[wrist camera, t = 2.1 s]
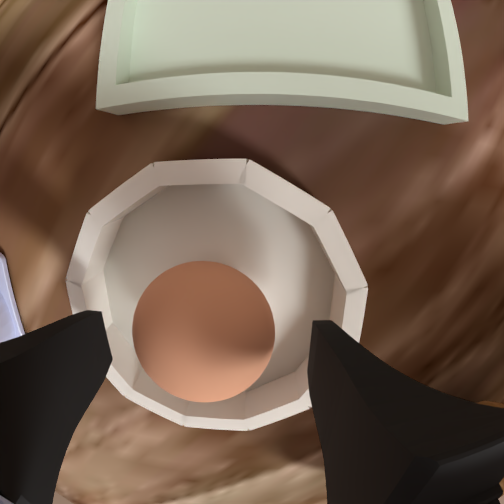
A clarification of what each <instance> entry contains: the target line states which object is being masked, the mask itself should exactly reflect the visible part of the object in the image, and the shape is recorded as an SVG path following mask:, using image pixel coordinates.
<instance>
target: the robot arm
mask: <svg viewBox="0 0 504 504" xmlns="http://www.w3.org/2000/svg"><path fill="white" fill-rule="evenodd" d="M112 360H113V358H112V354H111V350H110V346H109V342H108V338H107V334H106V329H105V325H104V320H103V316H102V311H93V310H86V311H82V312H79V313H76V314H73V315H71V316H68V317H66V318H63V319H61V320H58V321H56V322H54V323H51V324H49V325H47V326H44V327H42V328H39V329H37V330H34V331H32V332H29V333H27V334H25V332H24V329H23V326H22V323H21V320H20V316H19V313H18V309H17V306H16V302H15V298H14V294H13V290H12V286H11V282H10V277H9V273H8V268H7V263H6V259H5V257H4V255H3V254H2V253H0V504H52V503H53V497H54V492H55V487H56V483H57V479H58V475H59V471H60V468H61V465H62V462H63V459H64V456H65V453H66V450H67V448H68V445H69V443H70V440H71V438H72V435H73V433H74V431H75V429H76V427H77V425H78V423H79V422H80V420H81V418H82V416H83V415H84V413H85V411H86V410H87V408H88V406H89V405H90V403H91V402H92V400H93V398H94V397H95V395H96V393H97V392H98V390H99V388H100V387H101V385H102V383H103V381H104V379H105V377H106V375H107V373H108V370H109V368H110V365H111V363H112ZM307 375H308V386H309V395H310V400H311V404H312V409H313V413H314V417H315V421H316V426H317V430H318V434H319V438H320V443H321V447H322V452H323V458H324V466H325V477H326V489H327V504H500V502H499V500H498V498H499V497H501V496H502V495H503V490H502V488H501V486H500V484H499V483H500V481H501V480H502V479H503V478H504V408H500V407H494V406H488V405H483V404H478V403H474V402H470V401H467V400H463V399H460V398H457V397H454V396H451V395H448V394H445V393H442V392H440V391H438V390H435V389H433V388H430V387H428V386H426V385H423V384H421V383H419V382H417V381H415V380H413V379H411V378H410V377H408V376H406V375H404V374H402V373H401V372H399V371H397V370H395V369H394V368H392V367H391V366H389V365H388V364H386V363H385V362H383V361H382V360H380V359H379V358H378V357H376V356H375V355H373V354H372V353H371V352H369V351H368V350H367V349H366V348H364V347H363V346H362V345H361V344H359V343H358V342H357V341H356V340H354V339H353V338H352V337H351V336H350V335H349V334H347V333H346V332H345V331H344V330H343V329H342V328H340V327H339V326H338V325H337V324H336V323H335V322H333V321H332V320H313V321H312V332H311V341H310V350H309V359H308V367H307Z"/></svg>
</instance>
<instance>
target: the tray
mask: <svg viewBox="0 0 504 504" xmlns="http://www.w3.org/2000/svg"><path fill="white" fill-rule="evenodd" d="M222 105H290V106H311V107H326V108H338V109H348V110H357V111H366V112H374V113H381V114H388V115H395V116H401V117H407V118H413V119H418V120H423V121H428V122H433V123H438V124H443V125H444V124H451V123H458V122H466V121H468V106H467V93H466V82H465V73H464V66H463V58H462V52H461V46H460V40H459V35H458V30H457V25H456V20H455V16H454V12H453V7H452V3H451V0H108V3H107V8H106V14H105V20H104V26H103V33H102V40H101V48H100V57H99V67H98V79H97V94H96V109H97V110H100V111H104V112H108V113H112V114H115V115H124V114H131V113H138V112H146V111H155V110H164V109H175V108H187V107H202V106H222Z"/></svg>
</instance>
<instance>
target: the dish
mask: <svg viewBox="0 0 504 504" xmlns="http://www.w3.org/2000/svg"><path fill="white" fill-rule="evenodd" d="M88 211H89V212H87V213H86V216H85V219H84V222H83V225H82V227H81V230H80V233H79V236H78V239H77V242H76V245H75V249H74V252H73V255H72V258H71V262H70V265H69V268H68V272H67V276H66V279H67V280H66V285H67V290H68V295H69V300H70V304H71V309H72V313H73V314H76V313H79V312H82V311H86V310H93V311H102V316H103V320H104V325H105V329H106V334H107V338H108V342H109V346H110V350H111V354H112V358H113V360H112V363H111V365H110V368H109V370H108V373H107V375H106V377H107V378H108V379H109V380H110V382H111V383H112V384H113V385H114V386H115V387H116V388H117V390H118V391H119V392H120V393H121V394H122V395H123V396H124V395H126V396H125V397H126V398H127V399H129V400H131V401H133V402H135V403H137V404H138V405H140V406H142V407H144V408H146V409H148V410H150V411H152V412H154V413H156V414H158V415H160V416H162V417H164V418H166V419H168V420H171V421H173V422H175V423H177V424H179V425H181V426H182V425H183V424H184V426H185V427H195V428H206V429H220V430H240V431H248V429H249V430H253V429H256V428H259V427H262V426H265V425H268V424H271V423H273V422H276V421H279V420H282V419H284V418H287V417H290V416H292V415H295V414H298V413H300V412H303V411H305V410H308V409H310V407H312V404H311V400H310V395H309V386H308V375H307V367H308V359H309V350H310V341H311V332H312V321H313V320H332V321H333V322H335V323H336V324H337V325H338V326H339V327H340V328H342V329H343V330H344V331H345V332H346V333H347V334H349V335H350V336H351V337H352V338H353V339H354V340H356V341H357V342H358V343H359V341H360V335H361V330H362V324H363V318H364V312H365V306H366V300H367V293H368V287H367V286H368V285H367V282H366V280H365V278H364V275H363V273H362V271H361V269H360V267H359V264H358V262H357V260H356V258H355V256H354V254H353V251H352V249H351V247H350V245H349V243H348V241H347V239H346V237H345V235H344V233H343V230H342V228H341V226H340V224H339V222H338V220H337V218H336V216H335V214H334V212H333V210H331V209H330V208H329V207H328V206H327V205H325V204H324V203H322V202H321V201H319V200H318V199H316V198H314V197H313V196H311V195H310V194H308V193H306V192H305V191H303V190H301V189H300V188H298V187H297V186H295V185H293V184H292V183H290V182H288V181H287V180H285V179H283V178H282V177H280V176H278V175H276V174H275V173H273V172H271V171H270V170H268V169H266V168H264V167H263V166H261V165H259V164H257V163H256V162H254V161H252V160H250V159H201V160H178V161H161V162H154V163H150V164H149V165H148V166H146V167H145V168H143V169H142V170H141V171H139V172H138V173H136V174H135V175H134V176H132V177H131V178H130V179H128V180H127V181H125V182H124V183H123V184H121V185H120V186H119V187H118V188H116V189H115V190H114V191H112V192H111V193H110V194H108V195H107V196H106V197H105V198H103V199H102V200H101V201H99V202H98V203H97V204H96V205H94V206H93V207H92V208H91V209H90V210H88ZM192 261H211V262H217V263H222V264H225V265H228V266H230V267H232V268H234V269H237V270H238V271H240V272H241V273H243V274H245V275H246V276H247V277H248V278H250V279H251V280H252V281H253V282H254V283H255V284H256V285H257V286H258V287H259V288H260V290H261V291H262V293H263V294H264V296H265V298H266V299H267V301H268V303H269V305H270V308H271V311H272V314H273V319H274V324H275V342H274V348H273V352H272V355H271V358H270V361H269V363H268V365H267V367H266V368H265V370H264V371H263V373H262V374H261V376H260V377H259V378H258V379H257V380H256V381H255V382H254V383H253V384H252V385H251V386H250V387H249V388H247V389H246V390H245V391H243V392H241V393H240V394H238V395H236V396H233V397H231V398H229V399H225V400H222V401H216V402H193V401H188V400H184V399H181V398H179V397H176V396H174V395H172V394H170V393H168V392H167V391H165V390H164V389H162V388H161V387H160V386H158V385H157V384H156V383H155V382H154V381H153V380H152V379H151V378H150V377H149V376H148V374H147V373H146V372H145V370H144V369H143V367H142V365H141V364H140V362H139V359H138V357H137V355H136V352H135V348H134V344H133V337H132V323H133V316H134V312H135V309H136V306H137V304H138V301H139V299H140V297H141V295H142V294H143V292H144V291H145V289H146V288H147V287H148V285H149V284H150V283H151V282H152V281H153V280H154V279H155V278H157V277H158V276H159V275H160V274H162V273H163V272H165V271H166V270H168V269H170V268H172V267H174V266H177V265H180V264H183V263H187V262H192Z"/></svg>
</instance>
